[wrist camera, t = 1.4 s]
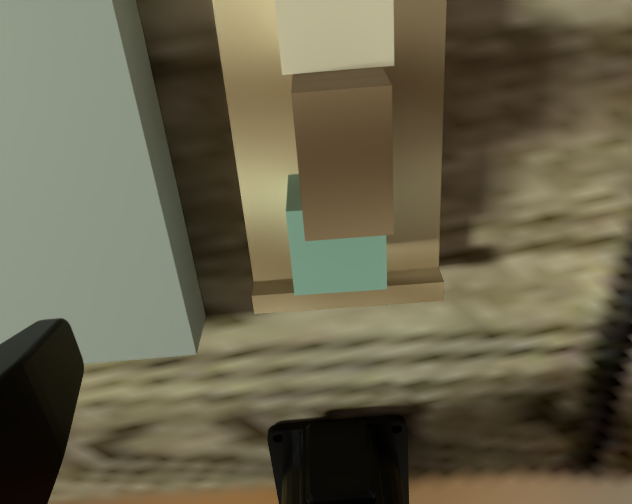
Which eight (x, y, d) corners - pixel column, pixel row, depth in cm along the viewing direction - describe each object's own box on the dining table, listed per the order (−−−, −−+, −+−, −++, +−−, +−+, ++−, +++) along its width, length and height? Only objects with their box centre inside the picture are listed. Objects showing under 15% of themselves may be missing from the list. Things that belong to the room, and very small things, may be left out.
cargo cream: (381, 45, 18) (394, 66, 16) (284, 53, 19) (281, 74, 16) (378, -64, 17) (392, -61, 14) (274, -55, 17) (269, -51, 14)
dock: (205, 316, 25) (196, 354, 23) (-28, 336, 25) (-59, 375, 23) (97, -177, 17) (66, -192, 15) (-247, -139, 17) (-328, -148, 15)
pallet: (428, 260, 25) (469, 372, 18) (259, 272, 25) (245, 387, 19) (436, -146, 18) (506, -182, 12) (203, -126, 18) (151, -151, 12)
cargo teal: (376, 245, 22) (387, 289, 19) (295, 251, 22) (294, 295, 19) (375, 168, 20) (385, 204, 18) (288, 174, 20) (285, 211, 18)
